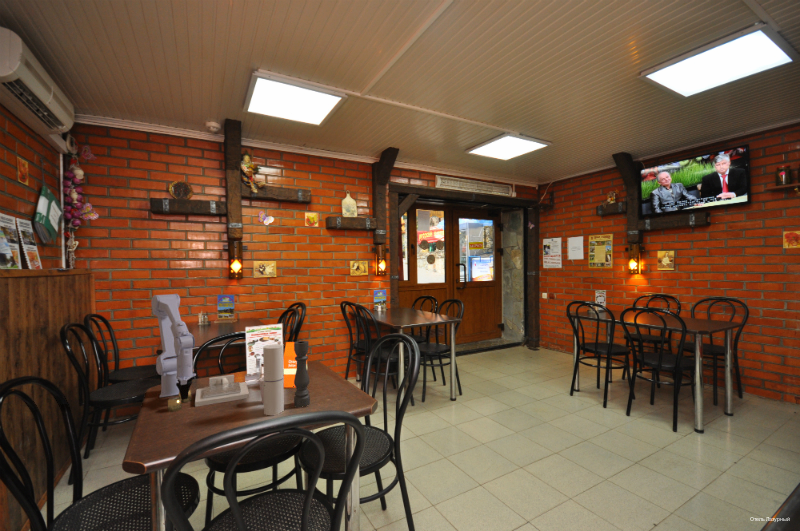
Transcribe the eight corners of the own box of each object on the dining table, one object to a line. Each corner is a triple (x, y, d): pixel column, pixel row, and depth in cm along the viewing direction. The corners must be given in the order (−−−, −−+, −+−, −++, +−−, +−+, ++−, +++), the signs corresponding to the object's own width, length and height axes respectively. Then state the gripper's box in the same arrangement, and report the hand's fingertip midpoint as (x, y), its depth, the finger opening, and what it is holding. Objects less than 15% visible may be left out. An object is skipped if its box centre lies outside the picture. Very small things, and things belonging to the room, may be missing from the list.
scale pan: (204, 389, 159) (204, 387, 159) (239, 384, 165) (239, 381, 165) (203, 397, 148) (203, 395, 148) (240, 392, 154) (240, 389, 154)
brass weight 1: (168, 408, 143) (168, 398, 143) (181, 406, 145) (181, 396, 145) (167, 412, 139) (167, 402, 139) (180, 410, 141) (180, 400, 141)
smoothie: (269, 405, 144) (269, 370, 144) (255, 404, 145) (254, 369, 146) (278, 399, 150) (277, 366, 151) (264, 398, 152) (264, 365, 152)
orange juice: (302, 387, 166) (302, 343, 166) (283, 387, 166) (283, 343, 166) (307, 381, 174) (306, 340, 174) (289, 382, 174) (288, 340, 174)
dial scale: (196, 393, 160) (196, 379, 160) (245, 385, 169) (245, 372, 169) (195, 406, 144) (194, 391, 144) (249, 397, 153) (249, 383, 153)
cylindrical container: (272, 417, 133) (271, 349, 133) (260, 413, 137) (259, 347, 137) (287, 410, 139) (287, 345, 139) (275, 406, 143) (274, 343, 143)
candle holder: (295, 402, 147) (295, 340, 148) (311, 401, 148) (310, 340, 148) (292, 408, 141) (291, 344, 141) (308, 407, 142) (307, 343, 142)
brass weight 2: (179, 399, 152) (179, 390, 152) (191, 398, 154) (191, 388, 154) (178, 403, 148) (178, 393, 148) (190, 401, 150) (190, 391, 150)
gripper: (194, 367, 146) (195, 401, 146) (196, 359, 159) (196, 390, 159) (174, 370, 143) (174, 404, 143) (177, 361, 156) (177, 393, 156)
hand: (185, 397), depth 151 cm, fingers closed on brass weight 2, 4 cm apart
